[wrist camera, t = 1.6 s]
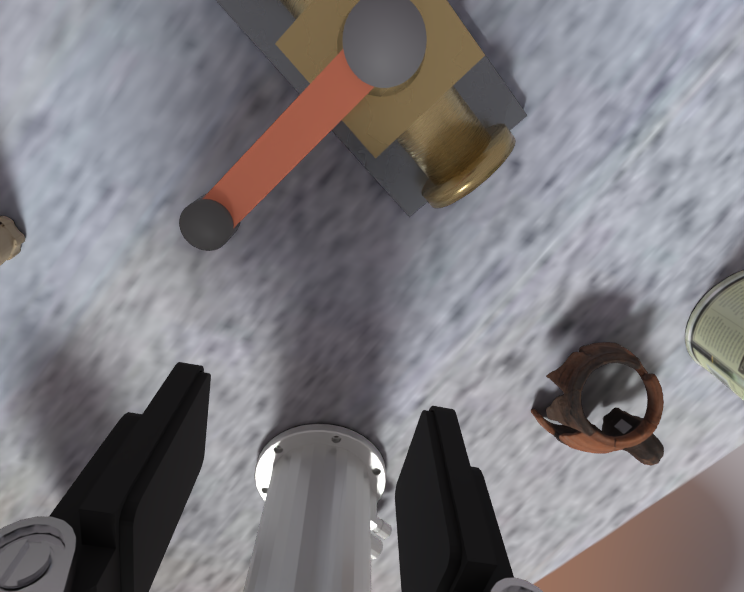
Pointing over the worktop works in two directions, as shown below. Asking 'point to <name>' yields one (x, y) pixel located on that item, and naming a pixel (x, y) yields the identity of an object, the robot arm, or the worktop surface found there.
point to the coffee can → (720, 333)
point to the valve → (400, 98)
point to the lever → (313, 115)
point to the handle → (9, 239)
